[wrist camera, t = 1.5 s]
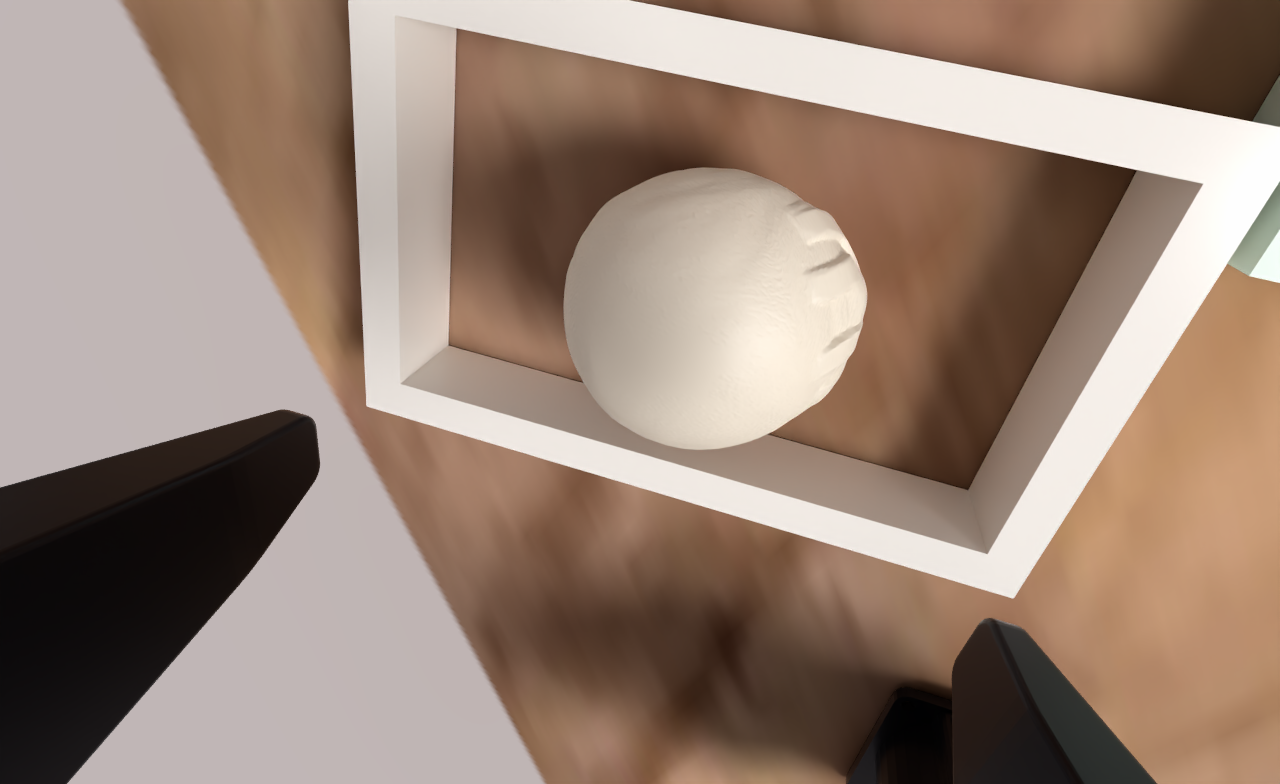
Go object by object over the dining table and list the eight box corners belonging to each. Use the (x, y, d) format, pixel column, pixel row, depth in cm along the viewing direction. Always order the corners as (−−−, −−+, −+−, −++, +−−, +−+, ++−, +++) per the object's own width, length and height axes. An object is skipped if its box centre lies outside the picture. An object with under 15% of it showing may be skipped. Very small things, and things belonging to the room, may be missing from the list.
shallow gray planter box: (991, 530, 21) (1013, 598, 19) (416, 366, 24) (366, 406, 21) (1227, 116, 15) (1310, 133, 12) (416, -42, 18) (345, -55, 15)
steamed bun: (867, 366, 20) (881, 500, 14) (633, 381, 22) (562, 502, 16) (855, 125, 17) (867, 168, 11) (588, 170, 19) (484, 226, 13)
